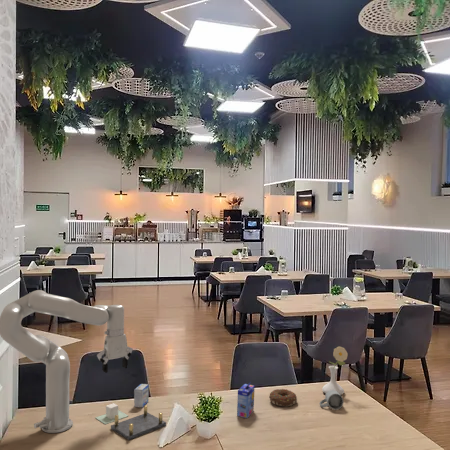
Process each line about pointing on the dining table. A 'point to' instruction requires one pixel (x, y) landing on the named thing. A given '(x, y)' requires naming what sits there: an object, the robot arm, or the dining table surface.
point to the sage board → (106, 420)
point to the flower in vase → (333, 385)
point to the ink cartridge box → (245, 400)
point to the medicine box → (141, 395)
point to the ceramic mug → (332, 400)
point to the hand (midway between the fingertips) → (115, 369)
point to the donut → (283, 397)
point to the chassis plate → (138, 425)
